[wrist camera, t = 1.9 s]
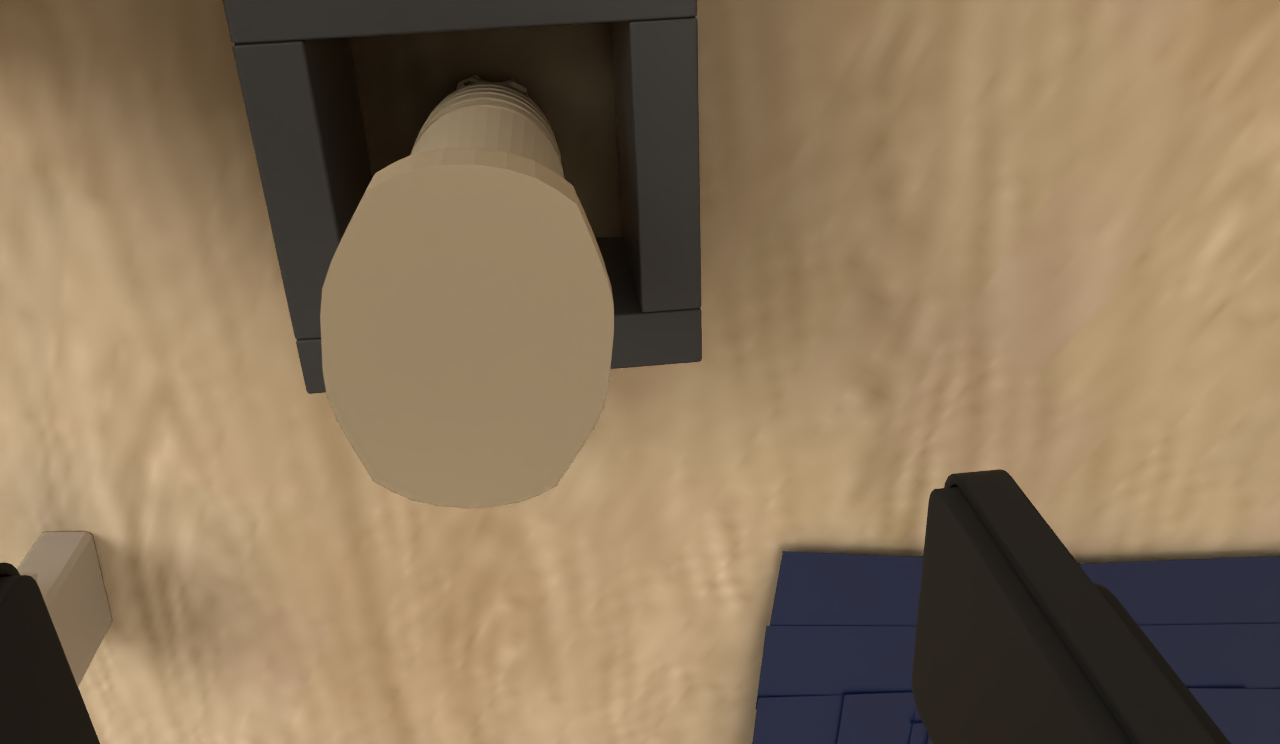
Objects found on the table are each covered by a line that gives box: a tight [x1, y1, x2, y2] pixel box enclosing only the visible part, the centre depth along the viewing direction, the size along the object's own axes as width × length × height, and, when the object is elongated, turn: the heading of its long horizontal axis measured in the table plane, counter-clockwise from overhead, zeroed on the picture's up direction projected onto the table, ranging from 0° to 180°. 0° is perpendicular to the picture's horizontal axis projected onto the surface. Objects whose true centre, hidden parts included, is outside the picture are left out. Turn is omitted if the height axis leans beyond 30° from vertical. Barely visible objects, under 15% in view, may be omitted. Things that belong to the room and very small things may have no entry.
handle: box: [320, 76, 614, 508], centre depth 24 cm, size 5×6×15 cm
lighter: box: [17, 531, 112, 686], centre depth 32 cm, size 7×2×8 cm, turn 177°
